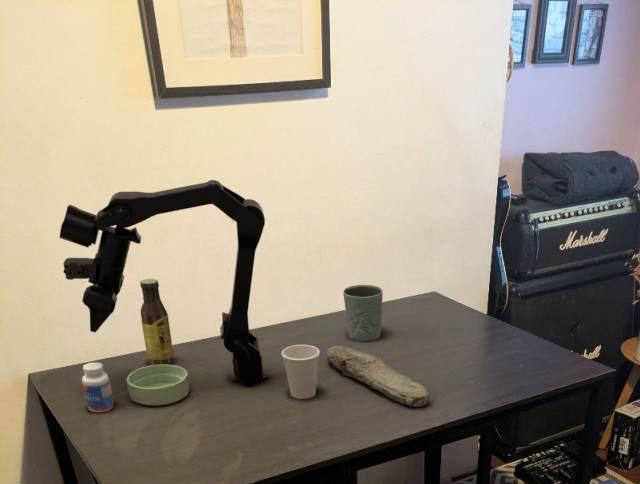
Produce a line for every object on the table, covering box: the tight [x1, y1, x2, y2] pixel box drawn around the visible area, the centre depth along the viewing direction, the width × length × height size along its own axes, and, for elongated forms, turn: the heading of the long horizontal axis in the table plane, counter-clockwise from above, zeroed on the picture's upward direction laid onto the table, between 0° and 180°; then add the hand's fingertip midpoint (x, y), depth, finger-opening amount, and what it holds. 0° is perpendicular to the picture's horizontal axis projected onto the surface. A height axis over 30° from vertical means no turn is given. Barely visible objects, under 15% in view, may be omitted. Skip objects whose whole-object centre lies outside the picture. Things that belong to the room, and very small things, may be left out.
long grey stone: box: [326, 345, 430, 408], centre depth 178 cm, size 35×5×10 cm
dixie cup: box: [281, 344, 321, 400], centre depth 171 cm, size 8×8×10 cm
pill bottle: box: [81, 361, 115, 413], centre depth 165 cm, size 6×5×10 cm
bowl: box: [126, 364, 191, 407], centre depth 172 cm, size 13×13×4 cm
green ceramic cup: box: [342, 284, 384, 342], centre depth 200 cm, size 10×10×12 cm
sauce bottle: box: [139, 278, 174, 366], centre depth 182 cm, size 7×6×20 cm
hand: (95, 323), depth 166 cm, fingers open, 9 cm apart
